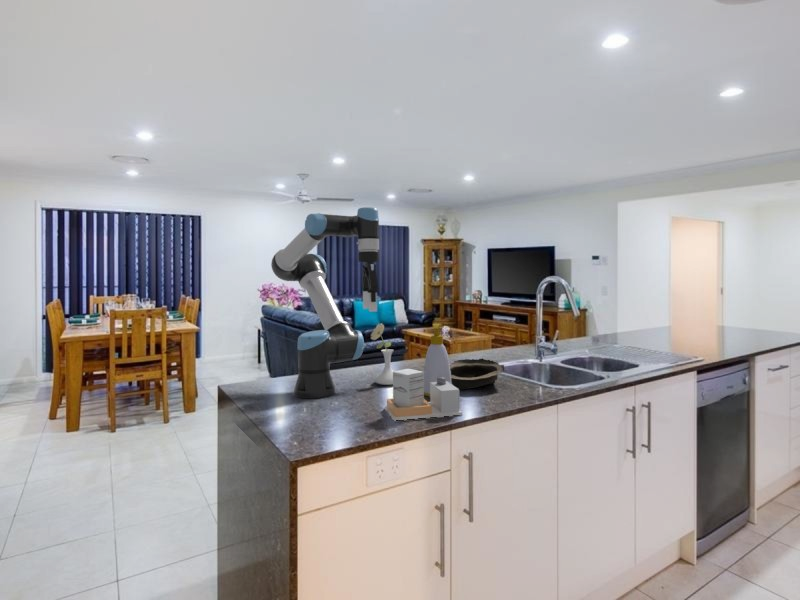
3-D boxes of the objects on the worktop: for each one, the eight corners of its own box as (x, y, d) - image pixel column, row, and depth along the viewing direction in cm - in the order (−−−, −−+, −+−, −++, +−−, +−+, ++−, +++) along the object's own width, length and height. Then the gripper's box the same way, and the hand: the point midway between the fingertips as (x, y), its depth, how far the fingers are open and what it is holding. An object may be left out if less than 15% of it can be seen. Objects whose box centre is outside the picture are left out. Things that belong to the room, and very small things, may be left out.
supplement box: (392, 410, 152) (391, 371, 152) (409, 405, 157) (408, 367, 157) (408, 415, 147) (407, 374, 146) (425, 410, 152) (424, 371, 151)
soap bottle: (420, 397, 170) (419, 325, 169) (423, 390, 182) (422, 321, 180) (452, 398, 169) (451, 325, 167) (453, 390, 180) (452, 321, 179)
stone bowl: (500, 378, 199) (500, 356, 198) (507, 398, 174) (508, 374, 173) (441, 377, 201) (441, 355, 200) (440, 397, 177) (440, 372, 175)
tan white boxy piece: (393, 421, 144) (393, 388, 143) (384, 408, 158) (384, 378, 157) (462, 415, 149) (461, 383, 148) (447, 403, 163) (447, 374, 162)
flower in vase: (390, 379, 201) (389, 320, 199) (407, 384, 192) (406, 322, 190) (365, 384, 193) (363, 323, 191) (381, 389, 184) (380, 325, 182)
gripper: (353, 252, 182) (354, 307, 183) (363, 249, 158) (365, 313, 159) (373, 252, 184) (374, 307, 185) (385, 249, 159) (386, 312, 161)
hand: (369, 310), depth 172 cm, fingers open, 13 cm apart
